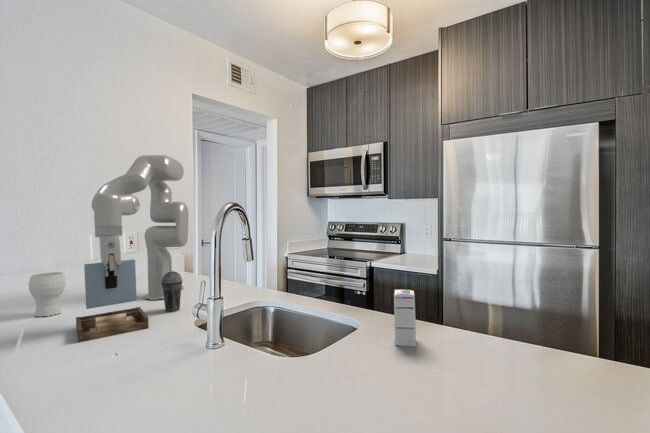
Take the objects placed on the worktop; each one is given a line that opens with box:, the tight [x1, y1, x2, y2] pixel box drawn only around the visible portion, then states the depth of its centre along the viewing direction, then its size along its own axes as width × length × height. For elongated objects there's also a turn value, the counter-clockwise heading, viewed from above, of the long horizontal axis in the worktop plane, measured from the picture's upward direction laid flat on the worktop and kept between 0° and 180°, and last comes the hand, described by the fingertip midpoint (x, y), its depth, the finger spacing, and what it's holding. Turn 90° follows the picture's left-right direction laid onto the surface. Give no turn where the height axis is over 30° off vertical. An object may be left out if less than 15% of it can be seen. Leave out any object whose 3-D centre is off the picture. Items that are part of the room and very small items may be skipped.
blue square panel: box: [83, 258, 137, 310], centre depth 111 cm, size 14×2×14 cm, turn 128°
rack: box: [75, 306, 150, 343], centre depth 107 cm, size 18×15×4 cm
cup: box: [28, 271, 66, 317], centre depth 126 cm, size 11×11×15 cm
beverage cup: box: [161, 259, 183, 313], centre depth 125 cm, size 7×7×20 cm
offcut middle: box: [95, 316, 135, 331], centre depth 105 cm, size 10×4×2 cm, turn 131°
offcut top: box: [96, 313, 127, 326], centre depth 104 cm, size 8×4×2 cm, turn 124°
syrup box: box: [393, 289, 417, 348], centre depth 95 cm, size 6×6×14 cm
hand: (110, 286), depth 111 cm, fingers closed on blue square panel, 2 cm apart
